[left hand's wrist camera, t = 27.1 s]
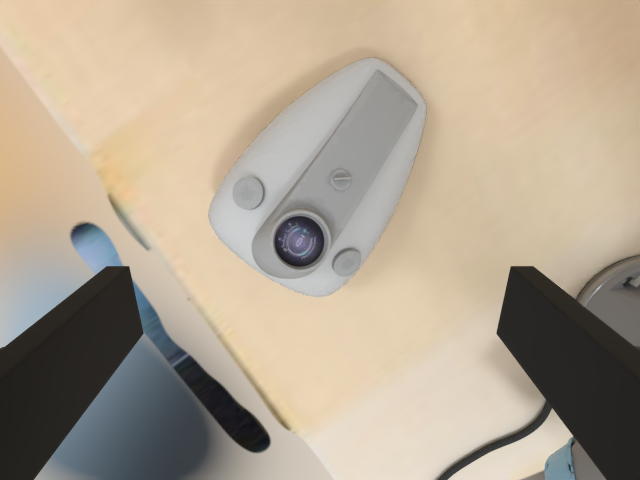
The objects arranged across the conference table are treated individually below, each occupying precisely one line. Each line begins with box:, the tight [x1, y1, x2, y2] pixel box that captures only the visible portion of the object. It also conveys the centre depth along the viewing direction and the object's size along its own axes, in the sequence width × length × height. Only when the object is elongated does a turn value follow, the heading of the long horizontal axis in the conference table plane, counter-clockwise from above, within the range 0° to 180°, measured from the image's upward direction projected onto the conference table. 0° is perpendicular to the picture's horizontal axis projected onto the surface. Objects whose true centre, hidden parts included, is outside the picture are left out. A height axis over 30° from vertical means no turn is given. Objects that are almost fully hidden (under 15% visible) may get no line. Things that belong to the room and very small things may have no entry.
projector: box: [209, 57, 427, 297], centre depth 33 cm, size 22×23×15 cm
